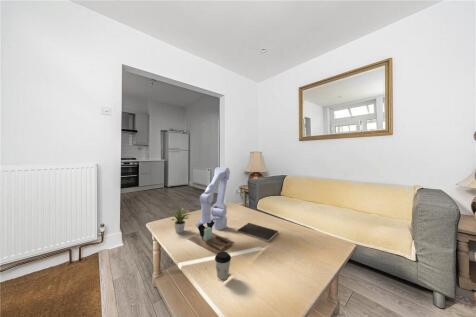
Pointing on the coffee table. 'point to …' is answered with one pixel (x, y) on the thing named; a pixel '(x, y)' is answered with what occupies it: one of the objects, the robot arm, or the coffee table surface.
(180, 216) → the house plant
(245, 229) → the hardcover book
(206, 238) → the sage block
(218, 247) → the shelf
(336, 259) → the coffee table surface
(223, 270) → the coffee cup
